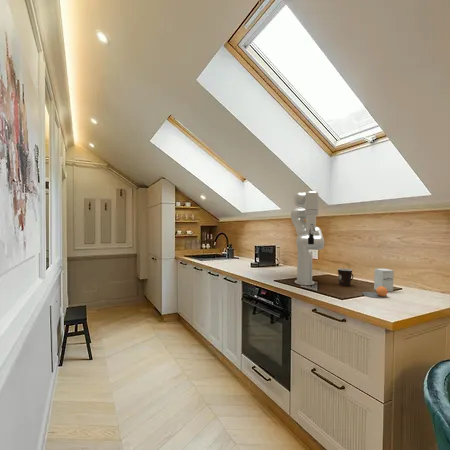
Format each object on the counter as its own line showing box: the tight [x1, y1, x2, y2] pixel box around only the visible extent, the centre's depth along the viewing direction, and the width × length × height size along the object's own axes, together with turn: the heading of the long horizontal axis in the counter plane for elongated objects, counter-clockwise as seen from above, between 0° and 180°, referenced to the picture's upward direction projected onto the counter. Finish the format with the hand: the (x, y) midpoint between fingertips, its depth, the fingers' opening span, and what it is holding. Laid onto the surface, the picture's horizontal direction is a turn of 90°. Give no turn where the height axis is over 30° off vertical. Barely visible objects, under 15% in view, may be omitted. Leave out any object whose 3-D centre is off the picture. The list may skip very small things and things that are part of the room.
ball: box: [375, 286, 388, 297], centre depth 160 cm, size 6×6×6 cm
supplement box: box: [373, 268, 395, 293], centre depth 174 cm, size 7×7×13 cm
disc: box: [361, 291, 388, 299], centre depth 163 cm, size 13×13×1 cm
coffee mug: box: [337, 268, 354, 287], centre depth 186 cm, size 12×9×10 cm
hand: (310, 244), depth 171 cm, fingers closed
